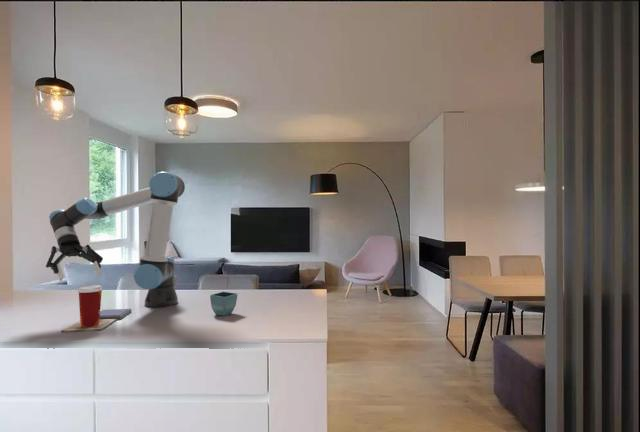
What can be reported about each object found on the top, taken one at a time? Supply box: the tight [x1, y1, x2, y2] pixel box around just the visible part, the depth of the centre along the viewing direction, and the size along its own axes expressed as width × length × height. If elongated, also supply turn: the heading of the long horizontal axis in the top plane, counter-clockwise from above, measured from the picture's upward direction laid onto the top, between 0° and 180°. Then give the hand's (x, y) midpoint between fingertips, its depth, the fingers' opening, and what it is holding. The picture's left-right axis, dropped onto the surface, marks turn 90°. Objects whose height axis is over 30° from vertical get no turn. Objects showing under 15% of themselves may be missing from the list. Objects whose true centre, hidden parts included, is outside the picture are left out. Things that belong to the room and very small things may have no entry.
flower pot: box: [209, 291, 238, 317], centre depth 152 cm, size 9×9×9 cm
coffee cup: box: [77, 284, 104, 327], centre depth 134 cm, size 8×8×15 cm
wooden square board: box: [61, 319, 119, 333], centre depth 134 cm, size 14×14×1 cm
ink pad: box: [99, 308, 132, 320], centre depth 148 cm, size 12×12×2 cm
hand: (81, 276), depth 140 cm, fingers open, 13 cm apart
